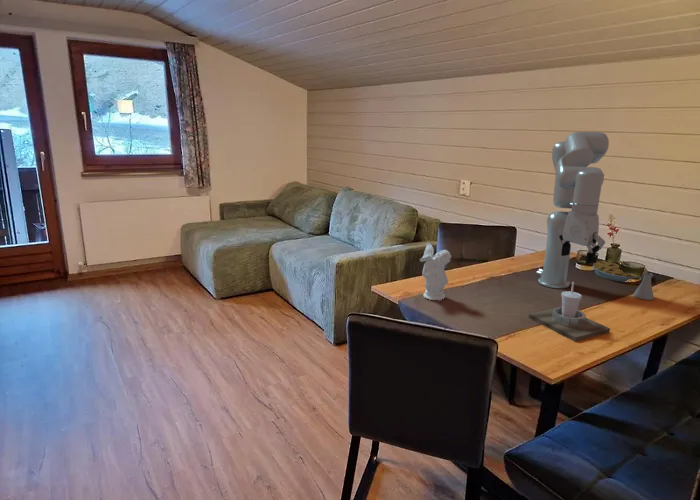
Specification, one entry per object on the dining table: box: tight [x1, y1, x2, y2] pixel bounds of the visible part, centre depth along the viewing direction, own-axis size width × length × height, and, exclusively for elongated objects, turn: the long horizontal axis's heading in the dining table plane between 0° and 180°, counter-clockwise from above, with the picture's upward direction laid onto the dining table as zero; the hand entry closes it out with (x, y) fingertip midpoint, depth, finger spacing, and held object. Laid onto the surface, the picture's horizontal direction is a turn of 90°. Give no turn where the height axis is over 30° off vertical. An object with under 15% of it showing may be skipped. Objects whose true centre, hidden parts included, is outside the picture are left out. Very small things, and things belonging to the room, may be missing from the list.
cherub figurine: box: [419, 241, 452, 301], centre depth 180 cm, size 12×12×22 cm
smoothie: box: [560, 281, 582, 318], centre depth 157 cm, size 6×6×14 cm
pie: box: [592, 259, 649, 283], centre depth 208 cm, size 22×22×5 cm
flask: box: [633, 272, 655, 301], centre depth 182 cm, size 7×7×10 cm
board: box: [528, 306, 611, 342], centre depth 159 cm, size 20×16×2 cm
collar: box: [552, 306, 587, 327], centre depth 158 cm, size 10×10×3 cm
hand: (577, 259), depth 153 cm, fingers open, 9 cm apart
